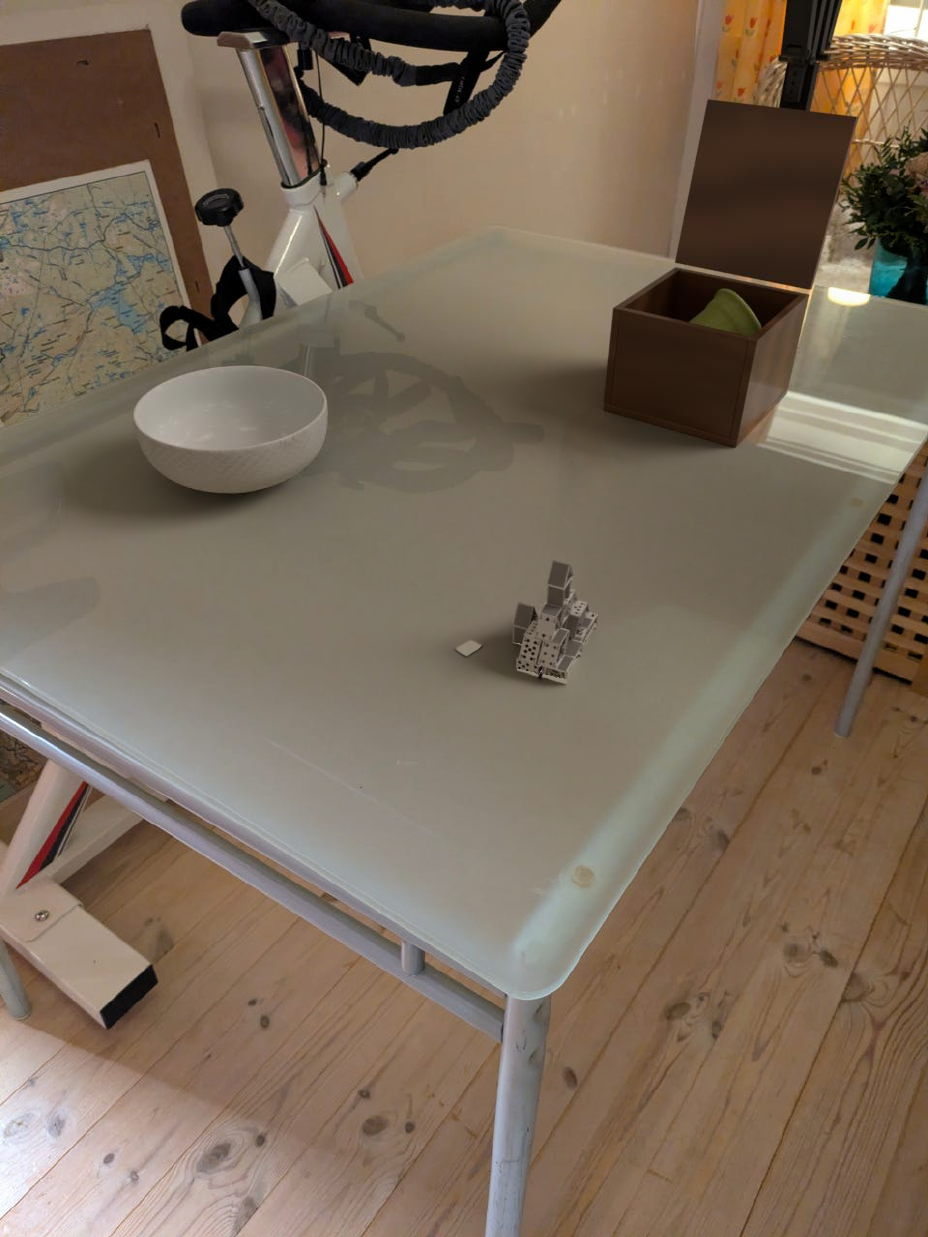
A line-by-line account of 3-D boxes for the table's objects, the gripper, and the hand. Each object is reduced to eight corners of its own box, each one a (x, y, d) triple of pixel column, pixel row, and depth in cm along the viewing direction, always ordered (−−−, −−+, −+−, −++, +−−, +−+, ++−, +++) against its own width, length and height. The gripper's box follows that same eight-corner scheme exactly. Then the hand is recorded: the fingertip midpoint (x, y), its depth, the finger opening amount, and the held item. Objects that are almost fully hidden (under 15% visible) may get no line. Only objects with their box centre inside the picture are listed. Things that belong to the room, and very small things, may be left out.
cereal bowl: (172, 540, 80) (155, 465, 76) (130, 453, 92) (114, 385, 87) (360, 492, 86) (354, 421, 82) (298, 417, 98) (291, 351, 93)
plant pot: (673, 341, 91) (751, 294, 91) (635, 326, 99) (707, 282, 99) (706, 424, 95) (780, 379, 95) (667, 402, 104) (736, 361, 103)
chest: (735, 447, 93) (757, 341, 86) (602, 409, 99) (612, 307, 92) (786, 393, 102) (809, 293, 95) (662, 362, 109) (675, 266, 102)
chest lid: (856, 116, 87) (859, 116, 88) (707, 98, 94) (710, 99, 94) (809, 289, 95) (811, 289, 95) (674, 262, 101) (677, 262, 102)
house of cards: (500, 586, 75) (502, 503, 70) (605, 615, 72) (616, 530, 67) (451, 653, 69) (450, 567, 64) (564, 688, 66) (573, 600, 61)
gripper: (829, -166, 87) (775, 120, 102) (779, -169, 78) (728, 143, 93) (913, -167, 84) (846, 129, 98) (871, -171, 75) (803, 154, 90)
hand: (789, 136), depth 96 cm, fingers closed
